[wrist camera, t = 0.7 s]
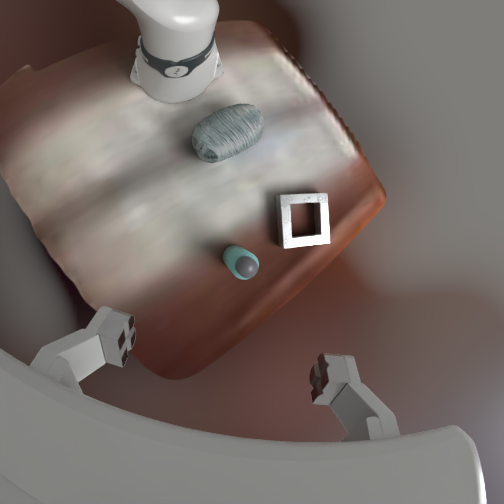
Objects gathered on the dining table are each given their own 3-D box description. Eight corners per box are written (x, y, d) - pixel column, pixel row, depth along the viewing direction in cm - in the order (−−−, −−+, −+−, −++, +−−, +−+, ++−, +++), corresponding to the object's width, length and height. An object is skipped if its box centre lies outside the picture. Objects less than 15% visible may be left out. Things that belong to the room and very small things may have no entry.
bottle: (221, 246, 52) (232, 255, 41) (244, 243, 53) (261, 251, 42) (223, 269, 52) (234, 284, 42) (246, 266, 54) (263, 280, 43)
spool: (206, 181, 46) (211, 141, 37) (181, 147, 48) (182, 106, 39) (266, 156, 51) (281, 119, 42) (239, 127, 53) (249, 90, 44)
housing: (275, 195, 53) (280, 194, 50) (320, 193, 55) (327, 193, 52) (278, 246, 55) (284, 248, 52) (322, 241, 57) (329, 242, 54)
